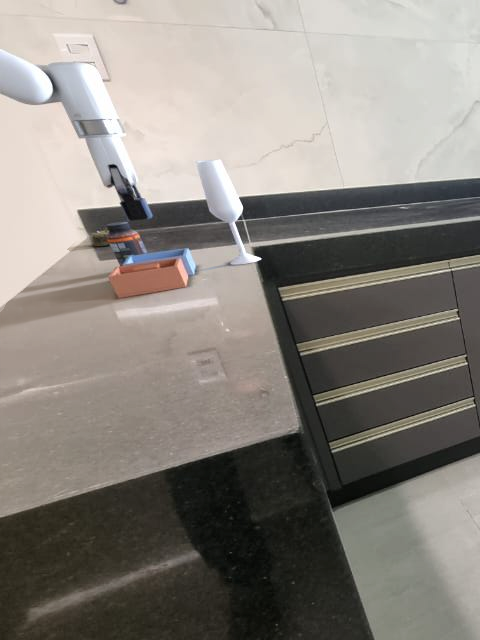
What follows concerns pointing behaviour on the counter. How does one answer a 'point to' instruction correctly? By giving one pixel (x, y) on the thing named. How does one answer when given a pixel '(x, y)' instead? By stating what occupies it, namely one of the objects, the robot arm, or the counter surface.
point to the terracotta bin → (148, 278)
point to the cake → (101, 238)
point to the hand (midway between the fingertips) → (139, 217)
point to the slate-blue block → (143, 207)
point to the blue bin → (164, 255)
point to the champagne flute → (223, 201)
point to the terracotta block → (146, 267)
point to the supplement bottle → (124, 241)
